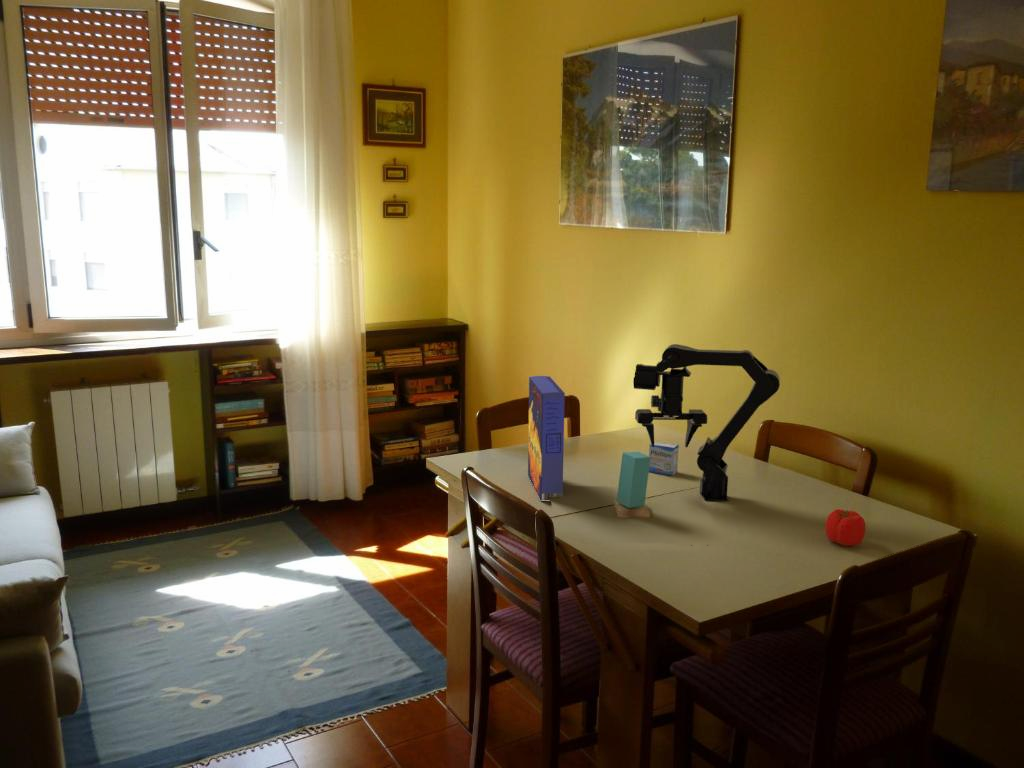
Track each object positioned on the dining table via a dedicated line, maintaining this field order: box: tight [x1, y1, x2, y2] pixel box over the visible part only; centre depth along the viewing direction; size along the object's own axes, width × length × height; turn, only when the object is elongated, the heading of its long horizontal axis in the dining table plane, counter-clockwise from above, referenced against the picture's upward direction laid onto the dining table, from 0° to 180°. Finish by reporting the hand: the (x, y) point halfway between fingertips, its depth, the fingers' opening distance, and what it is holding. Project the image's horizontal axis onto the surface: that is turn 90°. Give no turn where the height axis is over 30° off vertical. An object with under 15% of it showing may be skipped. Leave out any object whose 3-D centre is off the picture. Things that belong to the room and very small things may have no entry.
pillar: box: [616, 451, 651, 508], centre depth 215 cm, size 5×5×13 cm
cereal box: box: [527, 375, 566, 501], centre depth 235 cm, size 22×6×30 cm, turn 8°
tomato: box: [824, 508, 867, 547], centre depth 200 cm, size 9×9×8 cm
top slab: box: [613, 499, 651, 518], centre depth 216 cm, size 8×8×2 cm
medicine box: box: [648, 441, 680, 477], centre depth 252 cm, size 8×4×9 cm, turn 62°
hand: (669, 446), depth 232 cm, fingers open, 9 cm apart
